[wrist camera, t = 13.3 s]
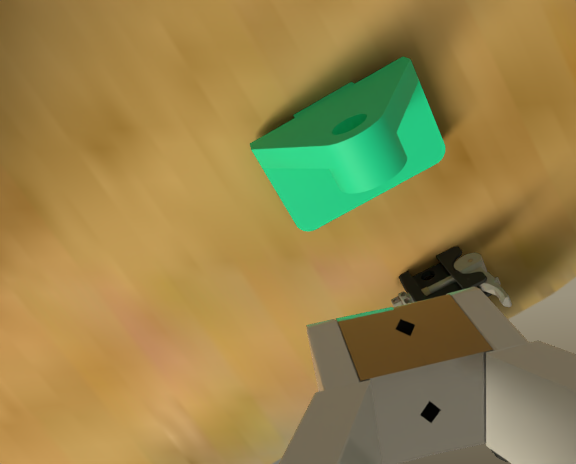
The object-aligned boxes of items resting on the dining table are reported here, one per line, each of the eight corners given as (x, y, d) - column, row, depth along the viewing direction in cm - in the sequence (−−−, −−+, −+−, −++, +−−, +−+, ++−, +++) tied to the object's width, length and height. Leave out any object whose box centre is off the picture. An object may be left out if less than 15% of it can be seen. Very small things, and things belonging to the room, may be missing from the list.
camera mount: (297, 222, 40) (322, 290, 31) (248, 139, 37) (260, 188, 28) (435, 146, 39) (504, 194, 30) (397, 54, 36) (461, 76, 27)
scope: (570, 341, 30) (602, 443, 35) (466, 239, 43) (499, 323, 47) (444, 401, 31) (492, 494, 35) (378, 284, 43) (419, 363, 48)
